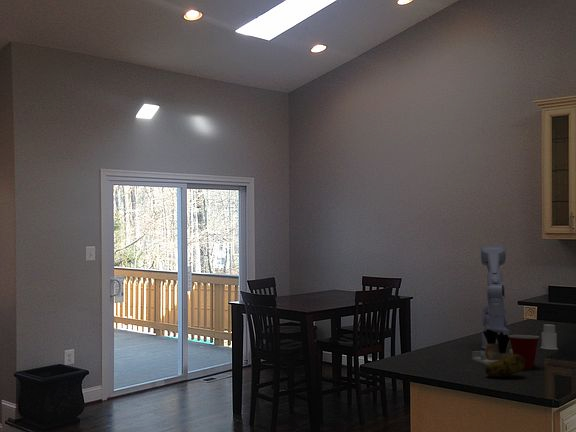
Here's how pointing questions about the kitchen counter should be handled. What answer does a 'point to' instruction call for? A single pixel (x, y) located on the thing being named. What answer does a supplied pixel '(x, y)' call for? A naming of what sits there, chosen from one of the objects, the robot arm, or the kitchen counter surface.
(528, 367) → the plastic cup
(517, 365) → the potato
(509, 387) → the kitchen counter surface
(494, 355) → the brown tapered block
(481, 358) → the board
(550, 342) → the white threaded pipe fitting
